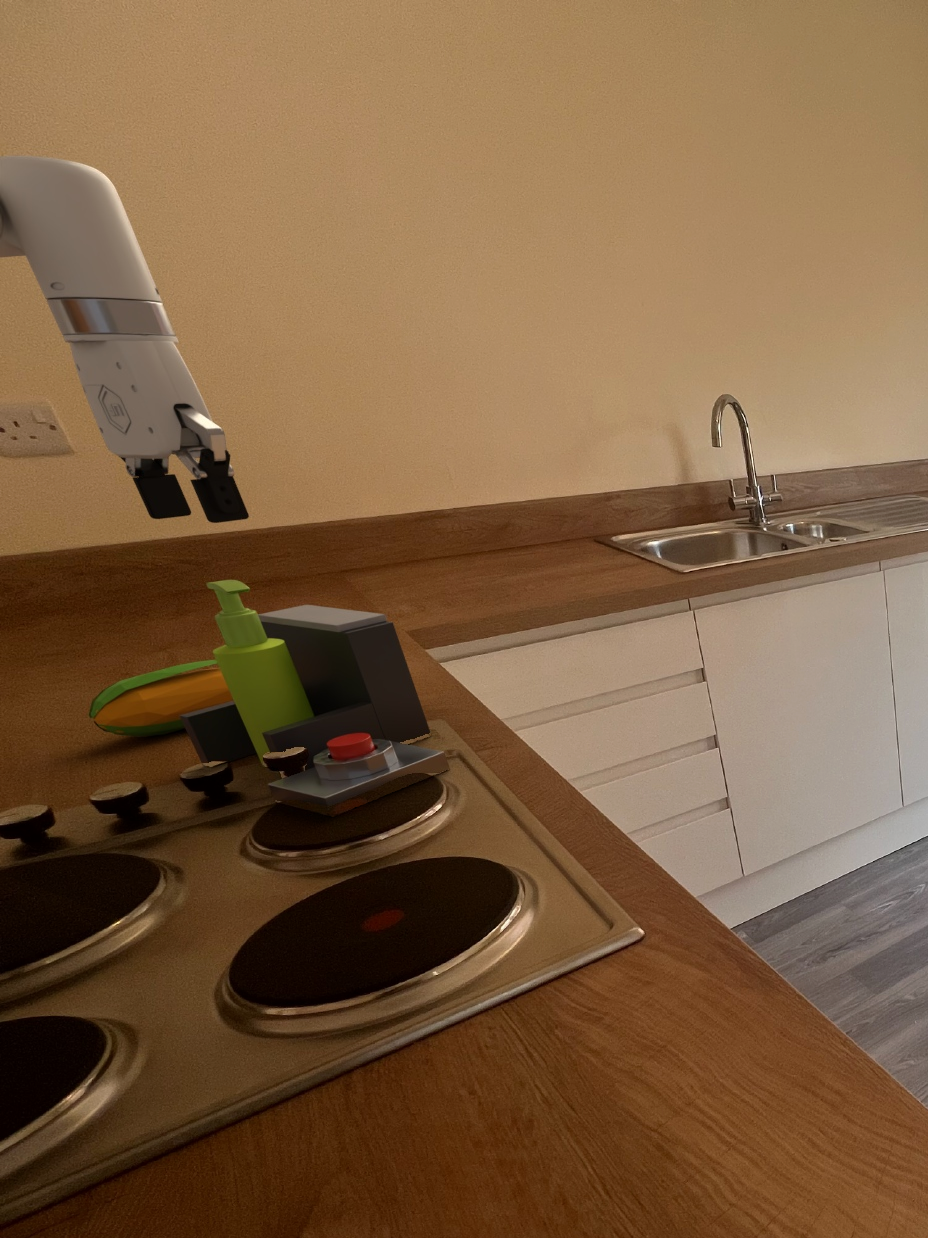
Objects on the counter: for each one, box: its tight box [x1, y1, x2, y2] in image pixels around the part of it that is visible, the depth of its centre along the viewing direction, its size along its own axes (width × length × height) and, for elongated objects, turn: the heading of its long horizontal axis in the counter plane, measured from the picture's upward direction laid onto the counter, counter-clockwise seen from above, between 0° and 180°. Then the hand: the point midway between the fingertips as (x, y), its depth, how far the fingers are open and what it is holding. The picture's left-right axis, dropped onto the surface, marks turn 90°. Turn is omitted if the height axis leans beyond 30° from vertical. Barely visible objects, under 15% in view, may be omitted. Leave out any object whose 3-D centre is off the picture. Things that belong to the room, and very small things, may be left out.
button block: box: [267, 739, 451, 806], centre depth 87 cm, size 12×9×4 cm
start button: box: [327, 733, 376, 760], centre depth 86 cm, size 4×4×2 cm
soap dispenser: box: [205, 579, 315, 766], centre depth 91 cm, size 6×7×20 cm
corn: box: [88, 659, 234, 738], centre depth 105 cm, size 7×8×20 cm
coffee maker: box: [180, 604, 431, 770], centre depth 94 cm, size 15×16×15 cm
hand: (200, 519), depth 84 cm, fingers open, 9 cm apart
